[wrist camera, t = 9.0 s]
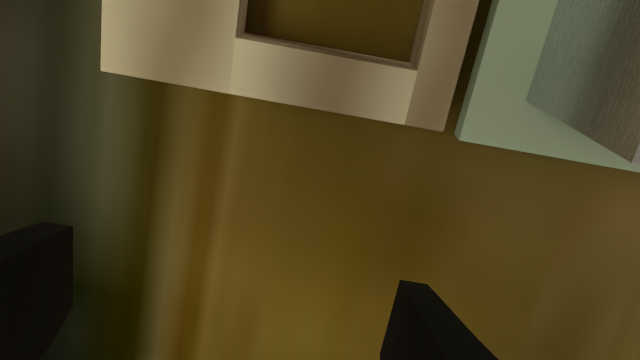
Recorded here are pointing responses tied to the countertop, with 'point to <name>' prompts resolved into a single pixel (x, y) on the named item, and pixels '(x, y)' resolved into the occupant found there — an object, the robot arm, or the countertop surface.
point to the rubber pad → (520, 91)
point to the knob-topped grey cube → (593, 72)
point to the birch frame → (288, 59)
